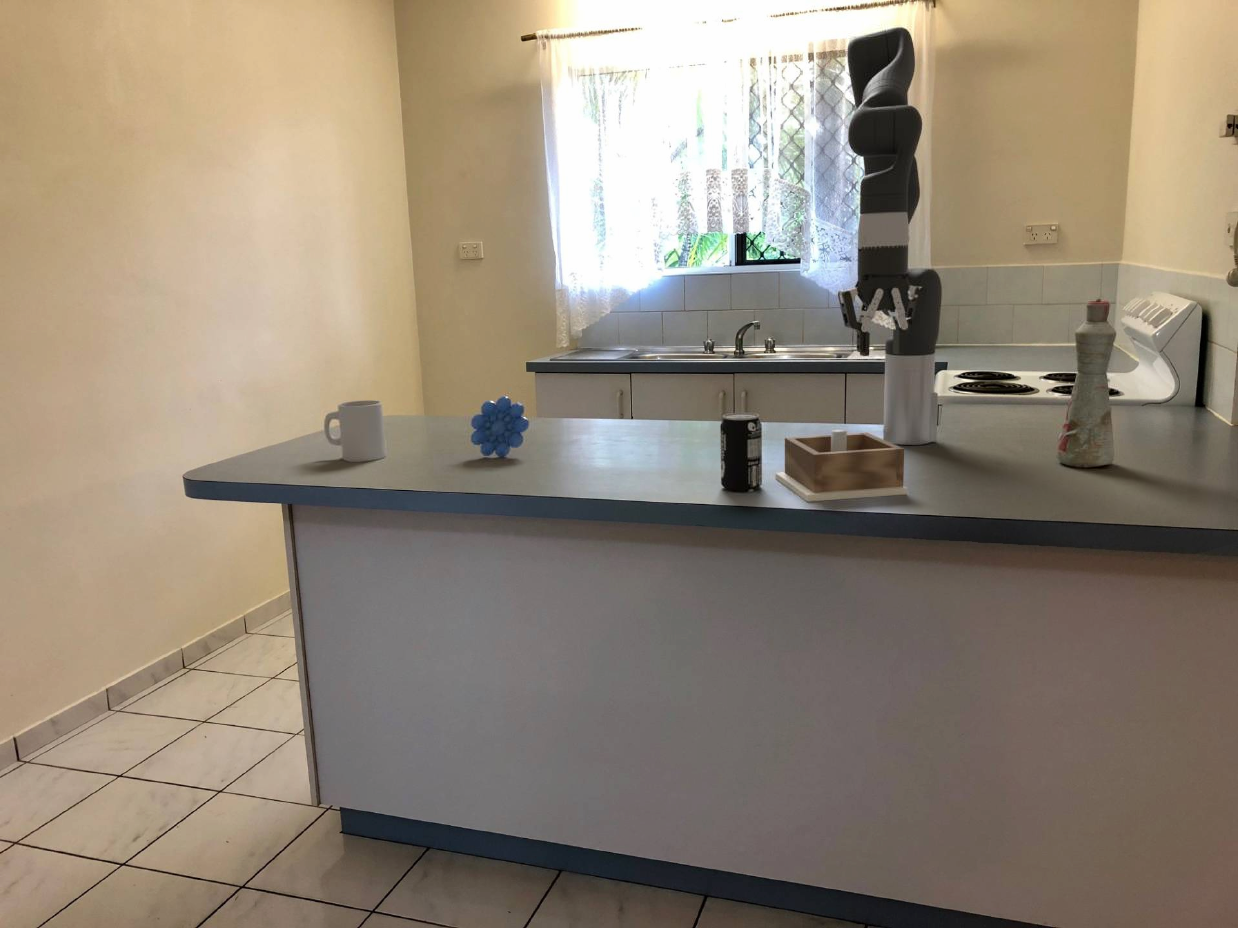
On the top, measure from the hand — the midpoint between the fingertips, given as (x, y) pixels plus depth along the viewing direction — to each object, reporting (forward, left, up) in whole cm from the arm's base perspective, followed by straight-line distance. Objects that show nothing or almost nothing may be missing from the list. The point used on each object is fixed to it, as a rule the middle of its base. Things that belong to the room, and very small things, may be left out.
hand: (881, 354), depth 150 cm
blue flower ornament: (+60, -42, -21) cm, 76 cm away
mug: (+89, -50, -21) cm, 104 cm away
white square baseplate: (+7, 0, -21) cm, 22 cm away
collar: (+6, 0, -20) cm, 21 cm away
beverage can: (+22, -3, -21) cm, 31 cm away
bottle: (-38, -3, -21) cm, 44 cm away
